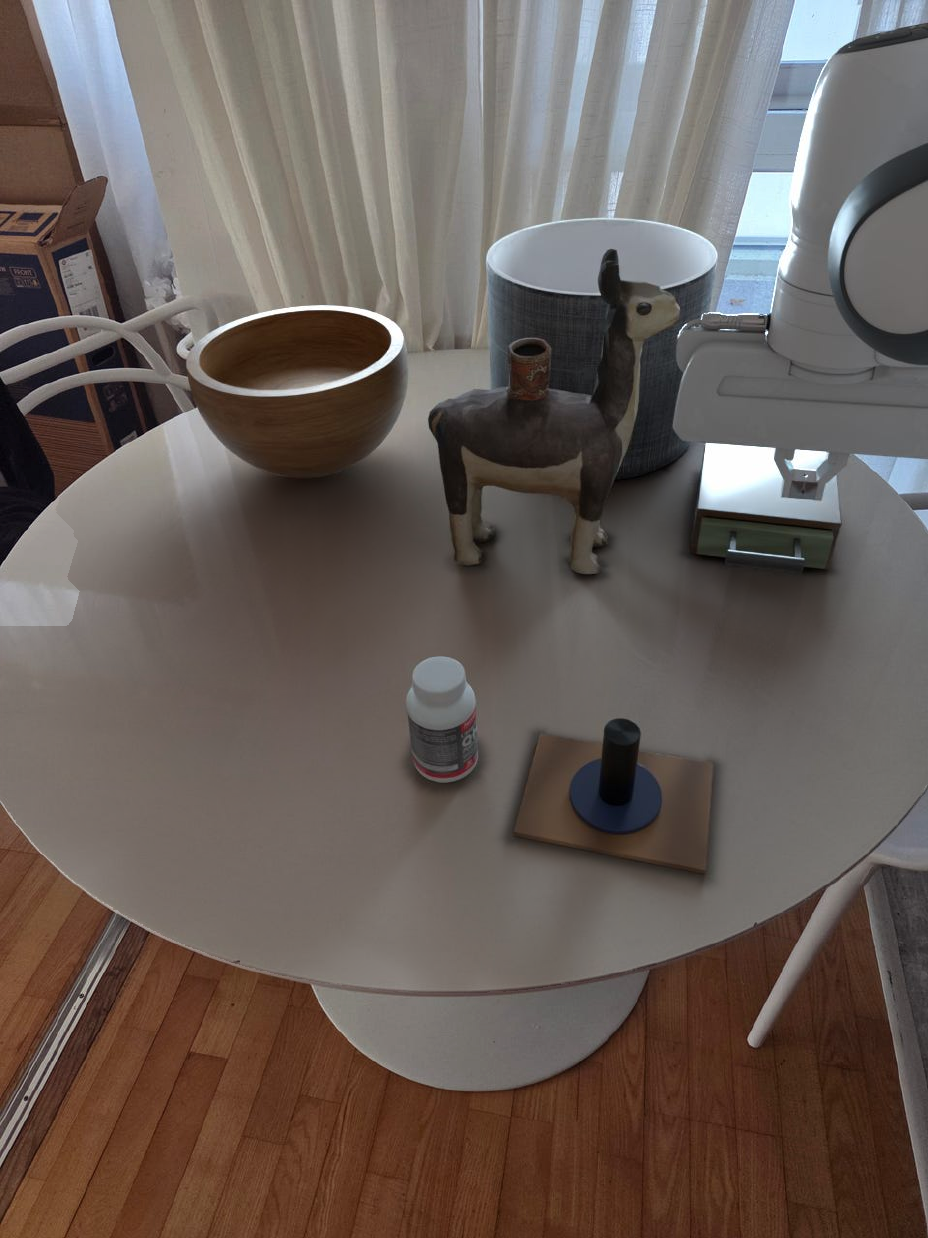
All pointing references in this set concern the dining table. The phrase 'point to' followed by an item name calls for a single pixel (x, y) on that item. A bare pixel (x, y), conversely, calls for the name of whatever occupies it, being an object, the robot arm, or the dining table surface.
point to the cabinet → (761, 490)
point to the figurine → (551, 425)
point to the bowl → (301, 387)
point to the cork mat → (663, 842)
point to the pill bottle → (442, 720)
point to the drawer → (764, 544)
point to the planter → (599, 312)
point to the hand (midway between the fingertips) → (800, 495)
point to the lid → (616, 784)
